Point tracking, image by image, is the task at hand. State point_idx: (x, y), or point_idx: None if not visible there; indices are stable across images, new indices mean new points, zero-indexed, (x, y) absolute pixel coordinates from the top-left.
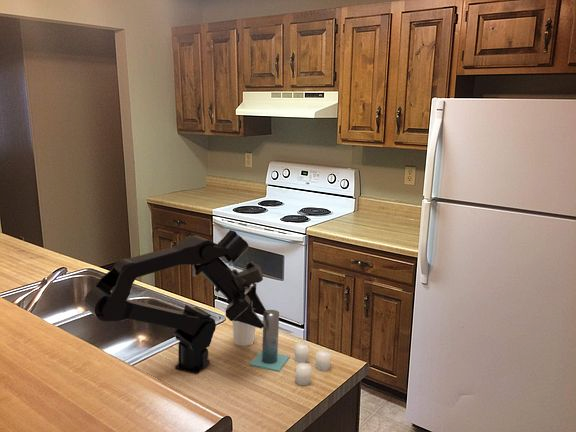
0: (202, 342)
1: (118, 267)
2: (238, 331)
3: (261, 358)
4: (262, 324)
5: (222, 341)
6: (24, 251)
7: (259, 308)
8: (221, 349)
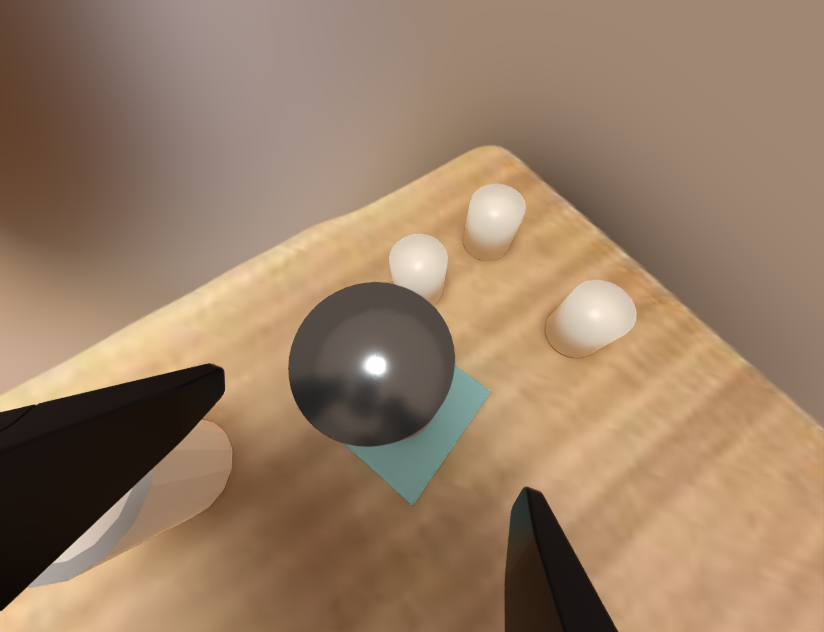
0: None
1: None
2: (161, 528)
3: None
4: (554, 517)
5: (137, 584)
6: None
7: (165, 429)
8: (216, 614)
